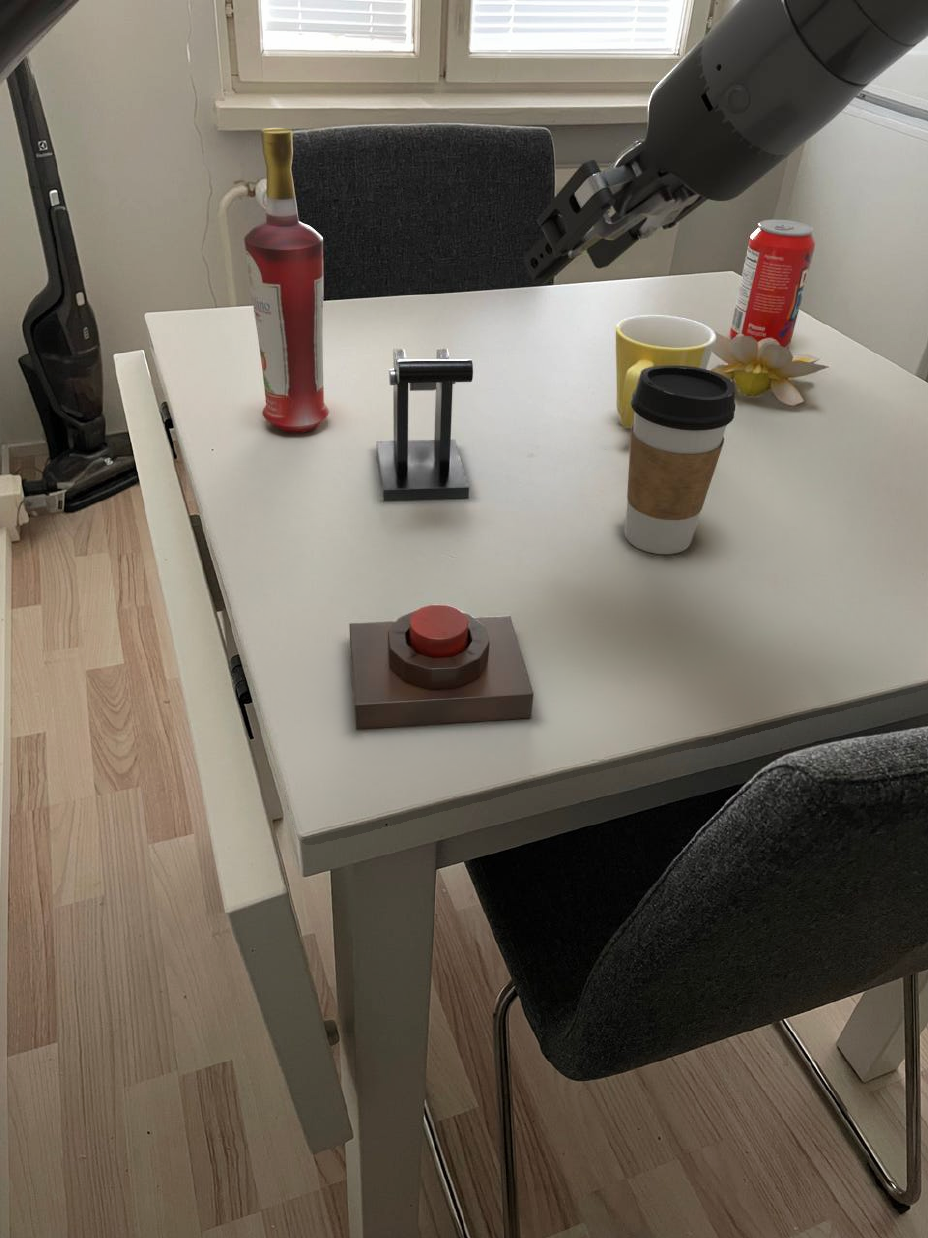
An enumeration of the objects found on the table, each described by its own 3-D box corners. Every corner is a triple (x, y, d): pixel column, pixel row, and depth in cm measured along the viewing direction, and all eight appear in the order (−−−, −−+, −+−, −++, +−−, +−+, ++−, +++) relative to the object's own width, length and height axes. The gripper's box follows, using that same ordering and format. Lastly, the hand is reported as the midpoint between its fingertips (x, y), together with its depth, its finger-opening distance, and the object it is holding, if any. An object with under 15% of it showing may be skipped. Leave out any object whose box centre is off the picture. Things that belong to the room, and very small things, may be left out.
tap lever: (473, 385, 77) (472, 354, 77) (399, 386, 77) (398, 355, 76) (453, 390, 89) (452, 363, 89) (389, 391, 88) (388, 364, 88)
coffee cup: (592, 523, 87) (615, 365, 78) (669, 506, 90) (699, 352, 81) (644, 570, 81) (674, 405, 72) (724, 551, 84) (763, 390, 75)
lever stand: (468, 498, 90) (474, 378, 83) (383, 501, 89) (382, 380, 82) (454, 449, 98) (459, 337, 91) (376, 451, 97) (375, 337, 90)
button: (412, 661, 64) (412, 640, 63) (407, 625, 68) (407, 605, 67) (470, 657, 65) (472, 637, 64) (463, 622, 68) (464, 602, 67)
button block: (355, 729, 64) (354, 684, 62) (350, 646, 71) (348, 603, 69) (531, 718, 66) (536, 673, 63) (508, 638, 73) (512, 595, 70)
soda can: (715, 341, 126) (740, 222, 117) (751, 330, 130) (777, 214, 121) (765, 360, 121) (794, 237, 112) (800, 347, 126) (831, 228, 117)
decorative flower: (846, 376, 113) (857, 298, 106) (811, 428, 107) (820, 349, 100) (725, 354, 121) (729, 279, 113) (686, 401, 115) (687, 326, 108)
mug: (636, 396, 111) (650, 306, 104) (714, 424, 105) (734, 330, 99) (566, 432, 102) (577, 336, 96) (648, 464, 97) (665, 365, 91)
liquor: (252, 415, 102) (223, 124, 86) (316, 404, 105) (301, 121, 88) (274, 443, 97) (249, 140, 80) (341, 431, 100) (330, 136, 83)
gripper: (797, 18, 54) (605, 198, 68) (641, 26, 46) (459, 230, 60) (856, 137, 54) (653, 293, 68) (712, 167, 46) (514, 338, 60)
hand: (563, 263), depth 64 cm, fingers open, 5 cm apart
